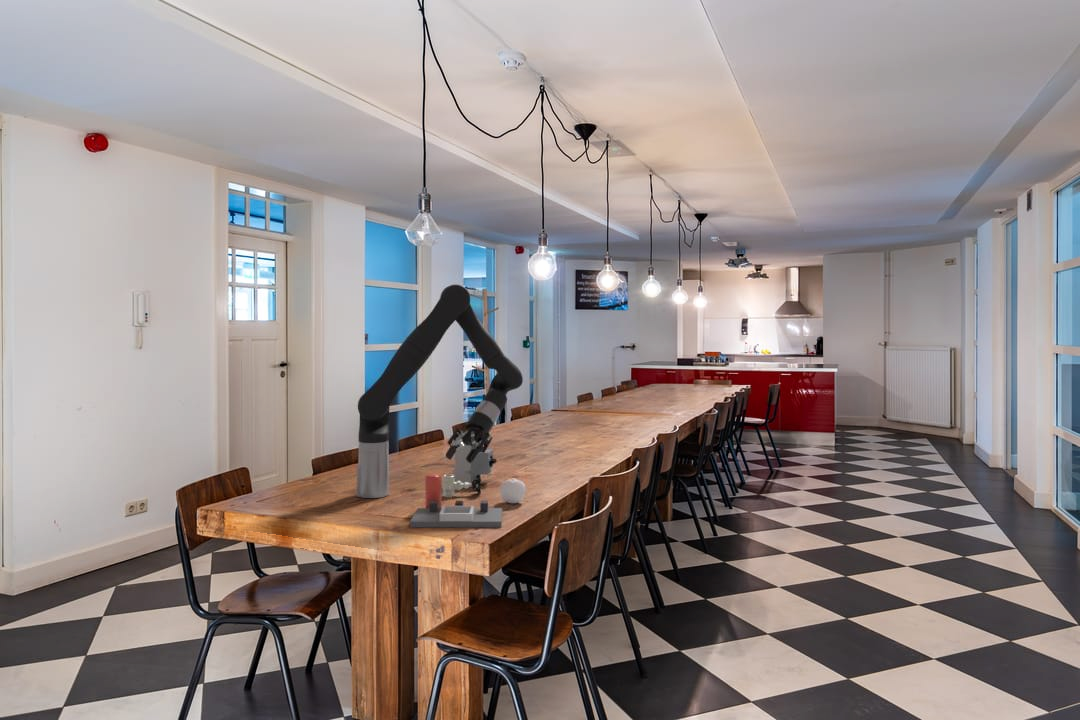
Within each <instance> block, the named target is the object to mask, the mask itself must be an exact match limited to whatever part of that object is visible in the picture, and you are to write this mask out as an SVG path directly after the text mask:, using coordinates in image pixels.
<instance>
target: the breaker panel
mask: <svg viewBox="0 0 1080 720" xmlns="http://www.w3.org/2000/svg"><path fill="white" fill-rule="evenodd" d="M454 503H455V505H442V506H441V508H438V501H431V502H430V508H425V507H418V508H417V509H416V510H415V512H414V514H413V515H412V517H411V519H410V521H409V527H410V528H502V525H503V523H502V522H503V507H489V500H480V506H479V507H475V505H464V500H455V502H454Z"/></svg>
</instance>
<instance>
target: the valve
mask: <svg viewBox="0 0 1080 720" xmlns="http://www.w3.org/2000/svg"><path fill="white" fill-rule="evenodd" d="M476 479H477V480H473V482H472V483H471V484H469V482H464V484H463V483H462V482H460V481H457V482H454V481H455V476H454V475H452V474H444V475H442V497H443V496H446V497H445V498H453V497H455V496H454V495H456V491H455V490H457V491H461V489H463V488H464V489H469V488H470V487H471V489H472V491H473V492H475V493H476V495H477V496H480V495H481V493H482V491H481V489H482V484H481V483H482V477H481V478H480V474H477V476H476ZM452 496H453V497H452Z"/></svg>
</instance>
